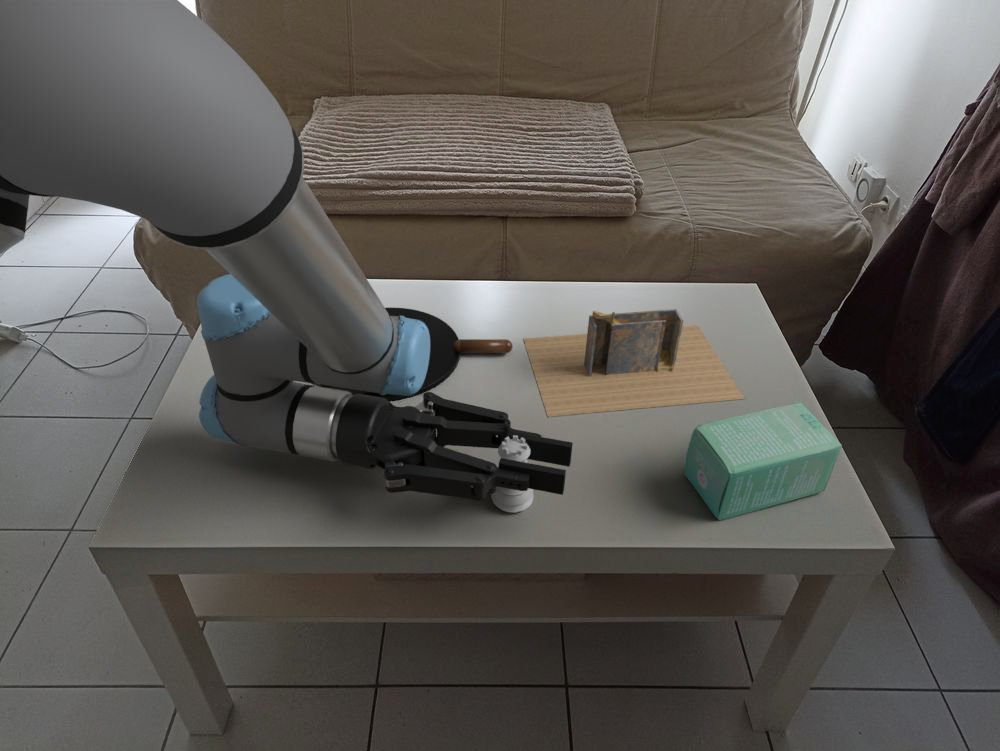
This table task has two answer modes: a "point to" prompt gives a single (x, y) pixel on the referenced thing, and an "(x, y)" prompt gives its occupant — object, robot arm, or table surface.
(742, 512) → the box
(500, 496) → the rook chess piece
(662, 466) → the table surface
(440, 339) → the pan
